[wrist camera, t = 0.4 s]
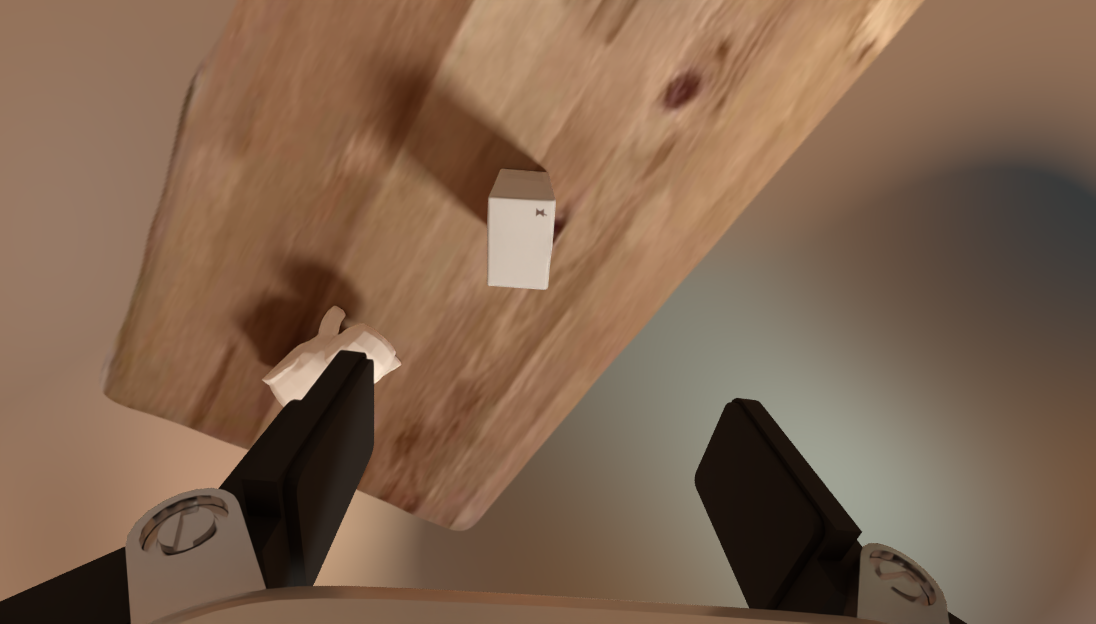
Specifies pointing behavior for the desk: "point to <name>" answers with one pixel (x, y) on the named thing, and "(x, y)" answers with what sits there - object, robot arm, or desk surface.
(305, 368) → the white rounded figurine
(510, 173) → the skincare box
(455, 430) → the desk surface
